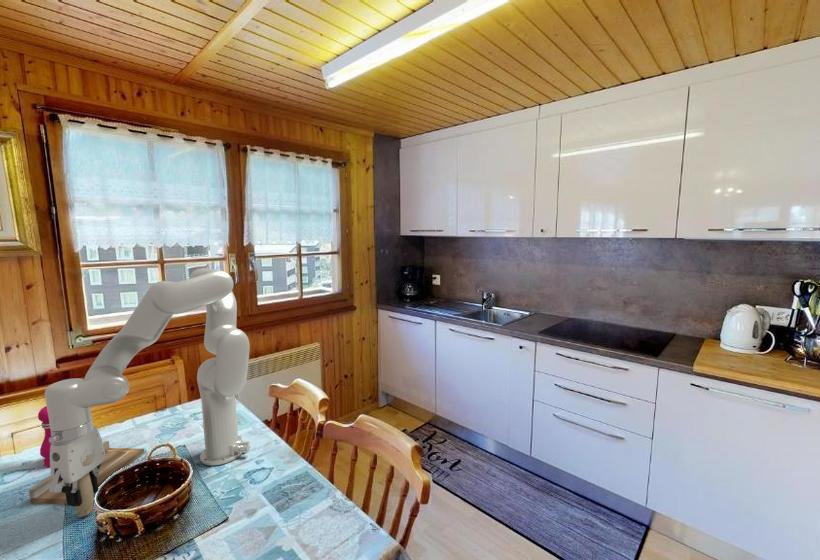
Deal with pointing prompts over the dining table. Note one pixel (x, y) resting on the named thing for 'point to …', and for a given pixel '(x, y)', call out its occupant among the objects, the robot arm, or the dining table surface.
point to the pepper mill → (46, 444)
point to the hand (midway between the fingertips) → (83, 497)
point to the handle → (85, 493)
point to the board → (111, 464)
